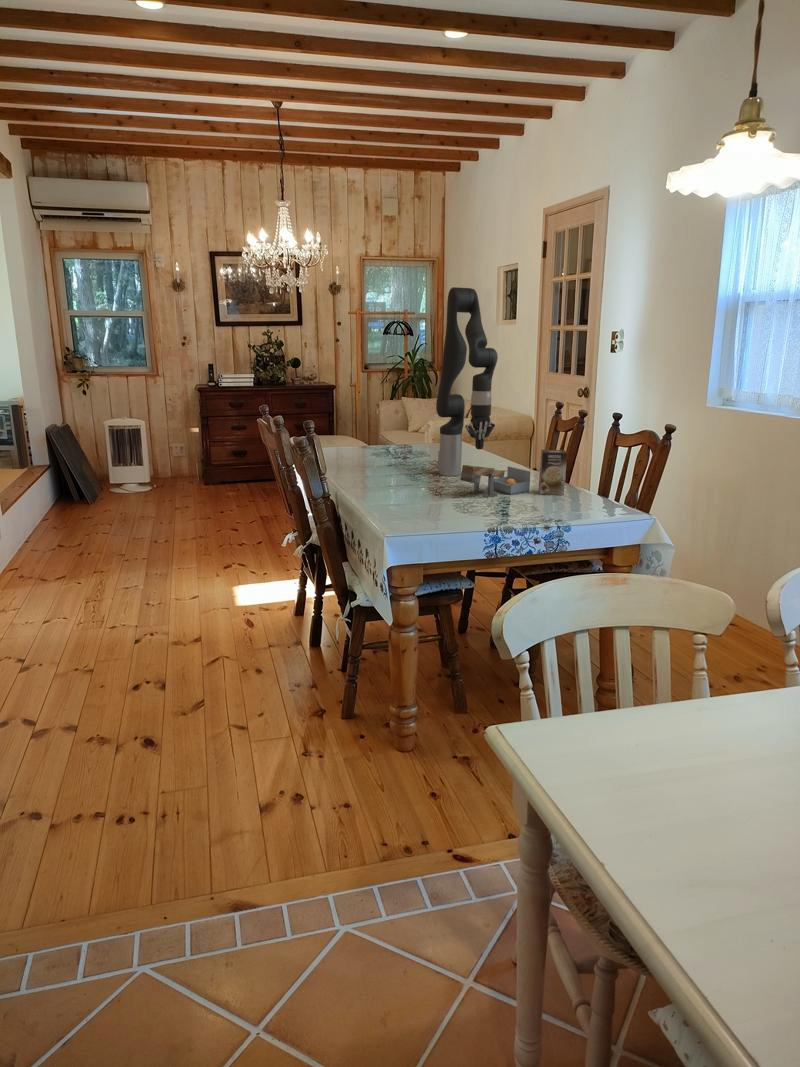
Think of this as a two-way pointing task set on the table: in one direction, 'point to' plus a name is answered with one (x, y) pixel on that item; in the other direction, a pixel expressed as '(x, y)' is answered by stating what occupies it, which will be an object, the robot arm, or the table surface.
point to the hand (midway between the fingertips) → (479, 449)
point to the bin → (519, 476)
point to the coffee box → (552, 472)
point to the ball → (510, 481)
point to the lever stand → (490, 487)
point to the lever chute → (478, 473)
